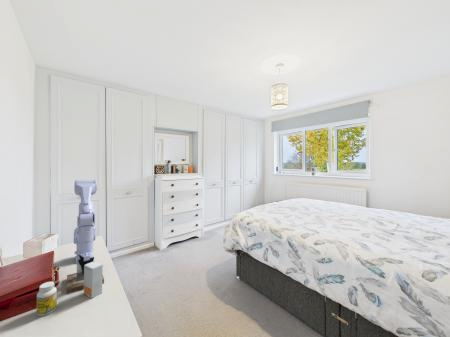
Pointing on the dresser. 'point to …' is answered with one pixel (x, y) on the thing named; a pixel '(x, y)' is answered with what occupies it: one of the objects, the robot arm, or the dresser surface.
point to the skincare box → (93, 279)
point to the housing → (79, 272)
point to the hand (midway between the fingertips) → (85, 270)
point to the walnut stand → (75, 283)
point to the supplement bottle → (46, 299)
